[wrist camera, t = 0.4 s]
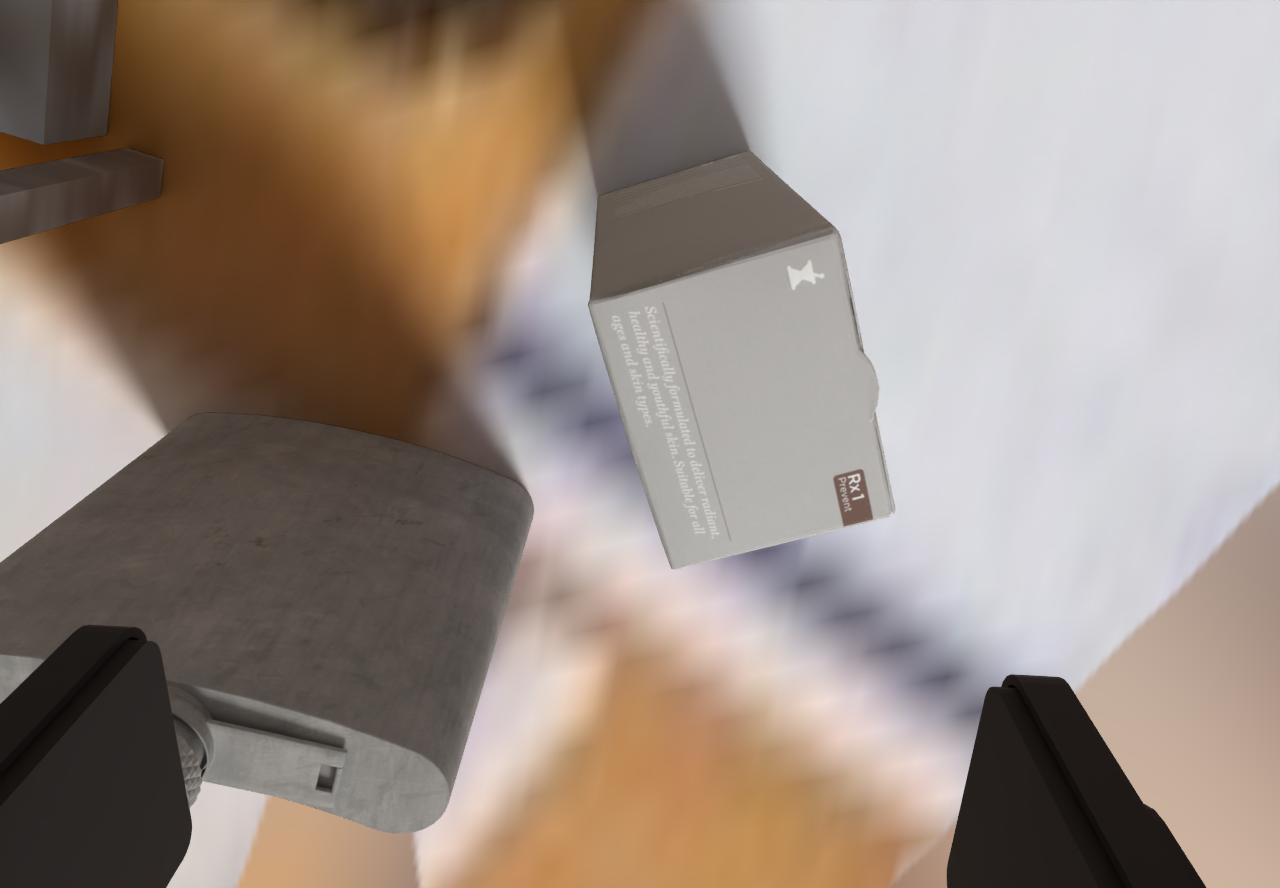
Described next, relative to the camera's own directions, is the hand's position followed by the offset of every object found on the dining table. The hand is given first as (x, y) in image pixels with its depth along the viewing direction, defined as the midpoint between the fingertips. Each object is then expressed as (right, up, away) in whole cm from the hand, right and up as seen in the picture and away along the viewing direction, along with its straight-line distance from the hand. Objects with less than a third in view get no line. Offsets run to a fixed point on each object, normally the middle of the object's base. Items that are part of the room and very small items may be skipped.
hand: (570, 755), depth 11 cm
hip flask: (-12, +3, +31) cm, 34 cm away
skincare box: (+4, +10, +27) cm, 30 cm away
